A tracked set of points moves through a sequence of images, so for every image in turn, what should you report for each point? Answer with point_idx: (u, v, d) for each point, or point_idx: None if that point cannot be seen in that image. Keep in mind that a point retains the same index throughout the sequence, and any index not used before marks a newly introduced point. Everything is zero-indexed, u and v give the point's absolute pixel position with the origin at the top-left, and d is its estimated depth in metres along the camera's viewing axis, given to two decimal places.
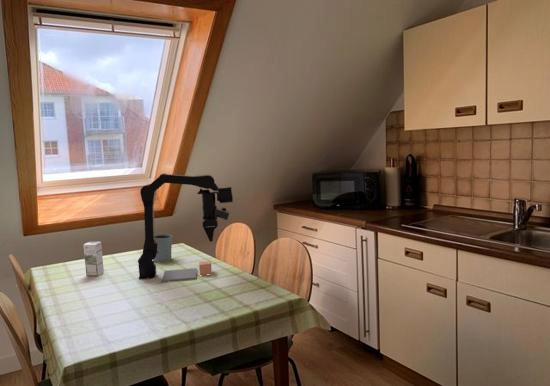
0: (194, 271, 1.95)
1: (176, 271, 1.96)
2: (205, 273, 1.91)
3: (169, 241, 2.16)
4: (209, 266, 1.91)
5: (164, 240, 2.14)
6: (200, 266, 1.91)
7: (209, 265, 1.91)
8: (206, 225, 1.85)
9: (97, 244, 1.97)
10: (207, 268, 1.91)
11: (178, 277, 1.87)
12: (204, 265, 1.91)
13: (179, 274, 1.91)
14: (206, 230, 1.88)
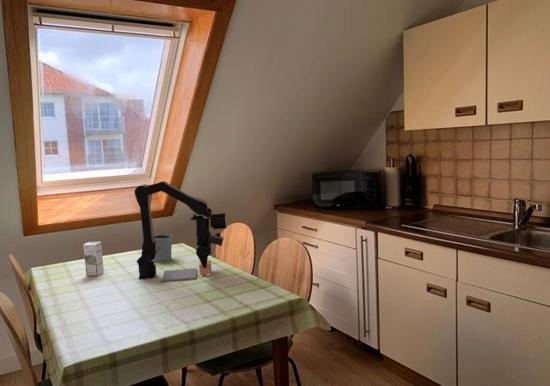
0: (194, 271, 1.95)
1: (176, 271, 1.96)
2: (205, 273, 1.91)
3: (169, 241, 2.16)
4: (209, 266, 1.91)
5: (164, 240, 2.14)
6: (200, 266, 1.91)
7: (209, 265, 1.91)
8: (200, 252, 1.83)
9: (97, 244, 1.97)
10: (207, 268, 1.91)
11: (178, 277, 1.87)
12: None
13: (179, 274, 1.91)
14: (200, 257, 1.86)
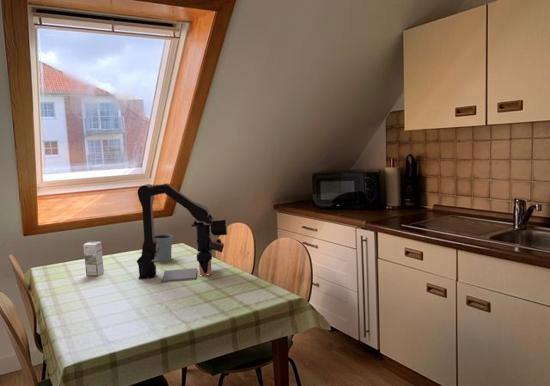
0: (194, 271, 1.95)
1: (176, 271, 1.96)
2: (205, 273, 1.91)
3: (169, 241, 2.16)
4: (209, 266, 1.91)
5: (164, 240, 2.14)
6: (200, 266, 1.91)
7: (209, 265, 1.91)
8: (200, 259, 1.83)
9: (97, 244, 1.97)
10: None
11: (178, 277, 1.87)
12: None
13: (179, 274, 1.91)
14: (200, 262, 1.89)
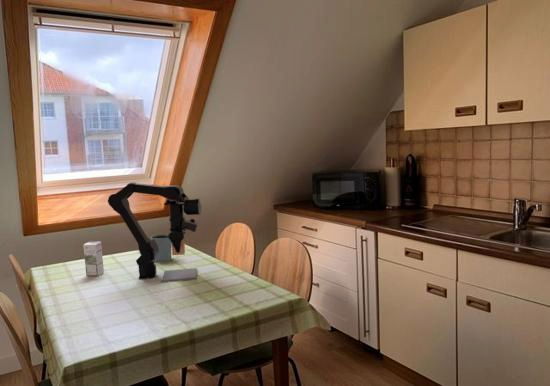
0: (194, 271, 1.95)
1: (176, 271, 1.96)
2: None
3: (169, 241, 2.16)
4: (182, 245, 1.89)
5: (164, 240, 2.14)
6: None
7: (182, 244, 1.88)
8: (172, 237, 1.81)
9: (97, 244, 1.97)
10: (180, 247, 1.89)
11: (178, 277, 1.87)
12: None
13: (179, 274, 1.91)
14: (173, 241, 1.86)
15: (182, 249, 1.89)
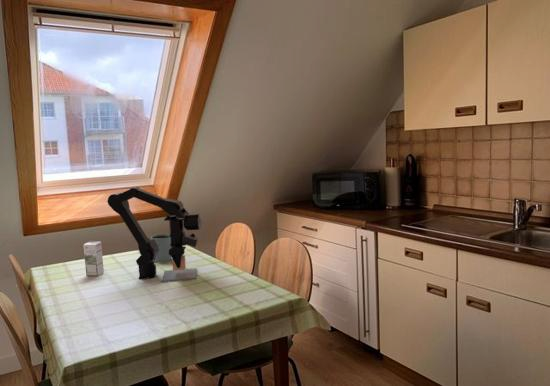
0: (194, 271, 1.95)
1: (176, 271, 1.96)
2: None
3: (169, 241, 2.16)
4: (182, 260, 1.89)
5: (164, 240, 2.14)
6: None
7: (182, 259, 1.89)
8: (172, 253, 1.81)
9: (97, 244, 1.97)
10: None
11: (178, 277, 1.87)
12: None
13: (179, 274, 1.91)
14: (173, 257, 1.87)
15: (182, 264, 1.89)
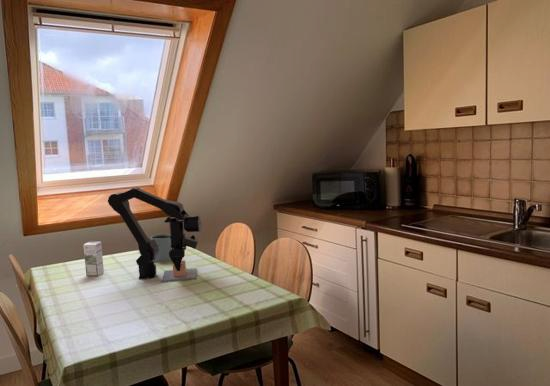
0: (194, 271, 1.95)
1: None
2: (179, 273, 1.90)
3: (169, 241, 2.16)
4: (183, 266, 1.90)
5: (164, 240, 2.14)
6: (173, 266, 1.89)
7: (183, 265, 1.89)
8: (172, 255, 1.82)
9: (97, 244, 1.97)
10: (181, 268, 1.89)
11: (178, 277, 1.87)
12: None
13: None
14: (173, 260, 1.85)
15: (183, 270, 1.90)
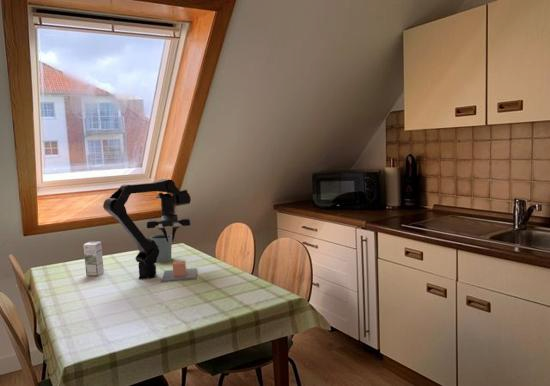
0: (194, 271, 1.95)
1: None
2: (179, 273, 1.90)
3: (169, 241, 2.16)
4: (183, 266, 1.90)
5: (164, 240, 2.14)
6: (173, 266, 1.89)
7: (183, 265, 1.89)
8: None
9: (97, 244, 1.97)
10: (181, 268, 1.89)
11: (178, 277, 1.87)
12: (178, 265, 1.89)
13: None
14: None
15: (183, 270, 1.90)
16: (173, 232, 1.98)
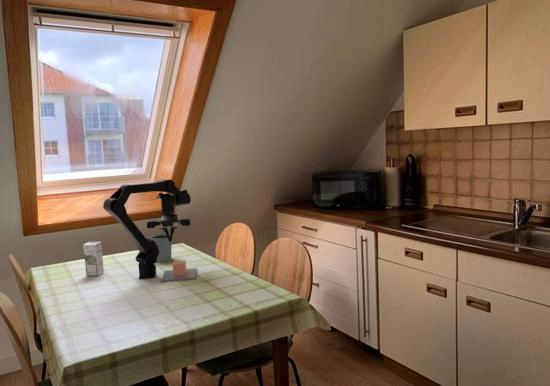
0: (194, 271, 1.95)
1: None
2: (179, 273, 1.90)
3: None
4: (183, 266, 1.90)
5: (164, 240, 2.14)
6: (173, 266, 1.89)
7: (183, 265, 1.89)
8: None
9: (97, 244, 1.97)
10: (181, 268, 1.89)
11: (178, 277, 1.87)
12: (178, 265, 1.89)
13: None
14: None
15: (183, 270, 1.90)
16: (171, 232, 1.98)
